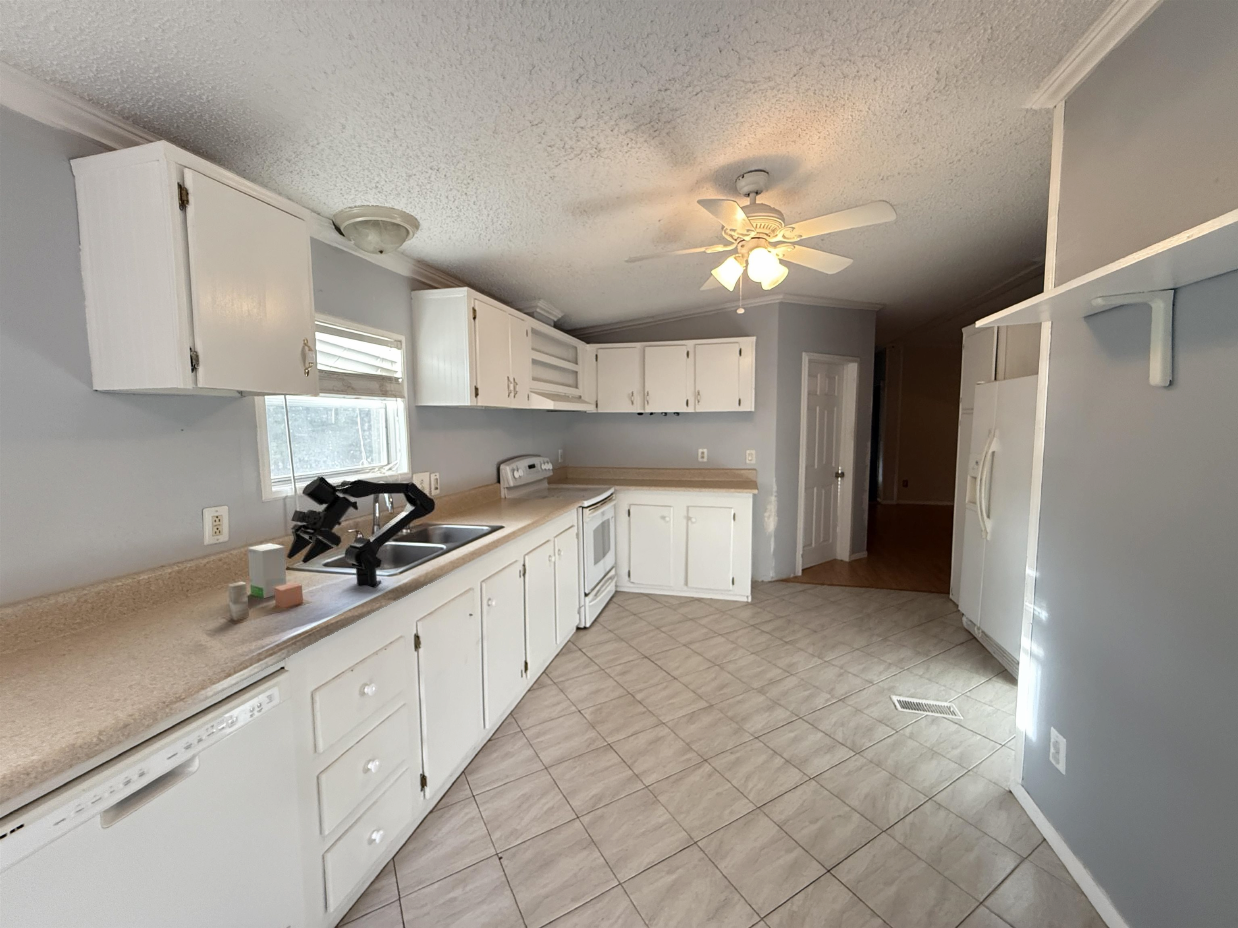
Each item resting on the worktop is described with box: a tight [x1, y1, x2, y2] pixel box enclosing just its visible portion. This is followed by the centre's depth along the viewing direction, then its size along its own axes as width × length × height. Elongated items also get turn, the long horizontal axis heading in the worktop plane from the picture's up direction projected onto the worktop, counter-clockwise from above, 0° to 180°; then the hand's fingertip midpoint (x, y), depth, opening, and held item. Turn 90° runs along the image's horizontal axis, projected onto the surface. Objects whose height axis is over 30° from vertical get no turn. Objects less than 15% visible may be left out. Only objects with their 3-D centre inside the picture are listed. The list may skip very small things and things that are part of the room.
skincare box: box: [247, 542, 287, 599], centre depth 146 cm, size 8×7×16 cm
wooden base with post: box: [222, 581, 313, 625], centre depth 133 cm, size 18×9×10 cm, turn 145°
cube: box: [274, 581, 304, 608], centre depth 137 cm, size 5×5×5 cm
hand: (295, 560), depth 138 cm, fingers open, 9 cm apart
